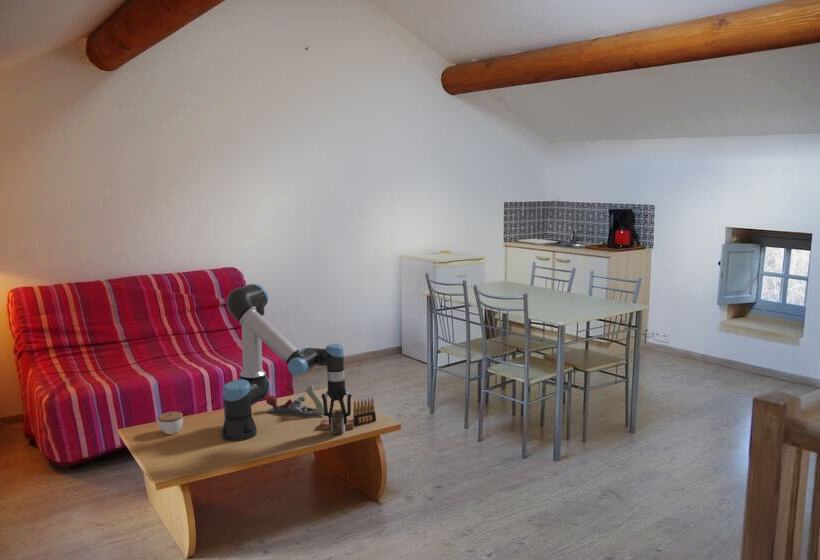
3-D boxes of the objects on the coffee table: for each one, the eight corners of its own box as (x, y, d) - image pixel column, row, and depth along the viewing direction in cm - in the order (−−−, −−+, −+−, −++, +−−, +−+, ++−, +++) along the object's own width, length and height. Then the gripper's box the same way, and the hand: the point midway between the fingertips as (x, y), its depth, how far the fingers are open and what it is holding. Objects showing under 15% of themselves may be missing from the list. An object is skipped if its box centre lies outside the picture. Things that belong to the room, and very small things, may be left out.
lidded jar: (159, 438, 313) (157, 417, 311) (158, 430, 322) (156, 410, 321) (185, 434, 317) (183, 414, 315) (183, 426, 326) (181, 406, 325)
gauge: (332, 434, 311) (331, 412, 310) (336, 426, 321) (335, 405, 319) (341, 434, 311) (340, 412, 309) (345, 426, 321) (344, 405, 319)
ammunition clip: (374, 421, 328) (373, 395, 326) (376, 422, 326) (375, 396, 325) (353, 425, 323) (351, 400, 321) (355, 426, 321) (353, 401, 320)
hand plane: (323, 418, 333) (322, 387, 331) (264, 413, 342) (262, 383, 340) (329, 413, 340) (328, 383, 338) (271, 408, 349) (269, 379, 347)
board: (319, 429, 318) (319, 424, 318) (321, 425, 324) (321, 419, 323) (352, 429, 317) (352, 424, 317) (354, 425, 322) (354, 419, 322)
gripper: (315, 382, 307) (317, 434, 311) (354, 382, 306) (356, 434, 310) (318, 377, 315) (320, 427, 318) (356, 377, 313) (358, 427, 317)
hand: (338, 430), depth 314 cm, fingers closed on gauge, 4 cm apart
